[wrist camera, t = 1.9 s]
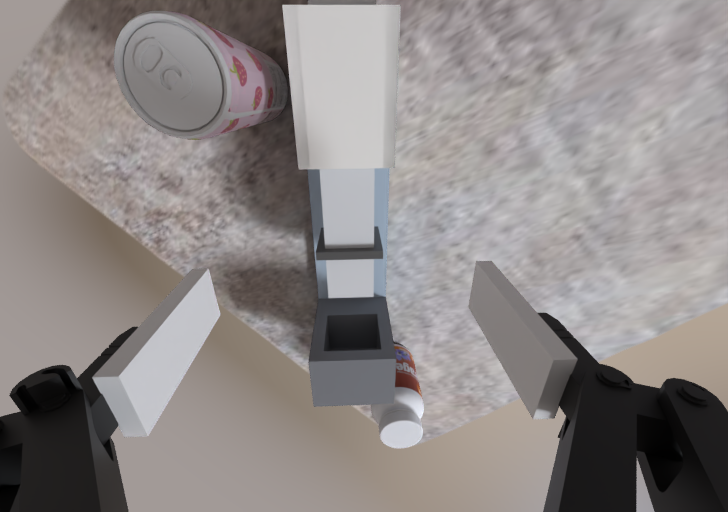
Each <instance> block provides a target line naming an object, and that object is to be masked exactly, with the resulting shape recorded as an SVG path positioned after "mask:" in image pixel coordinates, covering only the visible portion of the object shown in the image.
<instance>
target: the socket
mask: <svg viewBox="0 0 728 512" xmlns="http://www.w3.org/2000/svg"><path fill="white" fill-rule="evenodd" d="M309 370H310V378H311V387H312V396H313V404H314V407H316V406H341V405H342V406H343V405H370V404H394V395H395V376H396V354H395V348H394V342H393V336H392V331H391V325H390V319H389V313H388V308H387V302H386V297H366V298H329V299H318V306H317V312H316V318H315V324H314V331H313V337H312V343H311V349H310V356H309Z"/></svg>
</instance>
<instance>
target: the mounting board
mask: <svg viewBox="0 0 728 512" xmlns="http://www.w3.org/2000/svg"><path fill="white" fill-rule="evenodd" d="M307 171H308V182H309V194H310V205H311V217H312V228H313V240H314V251H315V263H316V275H317V286H318V298H319V299H329V298H328V283H327V269H326V260H316V249H317V244H318V240H319V236H320V231H321V228H324V226H323V211H322V197H321V182H320V169H307ZM388 197H389V168H375V180H374V227H377V226H378V229H379V233H380V238H381V243H382V248H383V259H374V297H386V267H387V232H388ZM351 298H366V297H351Z"/></svg>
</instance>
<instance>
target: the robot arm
mask: <svg viewBox="0 0 728 512" xmlns="http://www.w3.org/2000/svg"><path fill="white" fill-rule="evenodd" d="M469 309H470V310H471V312H472V314H473V316H474V317H475V319H476V321H477V323H478V324H479V326H480V328H481V330H482V331H483V333H484V335H485V337H486V338H487V340H488V342H489V344H490V345H491V347H492V349H493V350H494V352H495V354H496V356H497V357H498V359H499V361H500V363H501V364H502V366H503V368H504V370H505V371H506V373H507V375H508V377H509V378H510V380H511V382H512V384H513V385H514V387H515V389H516V391H517V392H518V394H519V396H520V397H521V399H522V401H523V403H524V404H525V406H526V408H527V410H528V411H529V413H530V415H531V417H532V418H533V419H548V418H555V416H556V413H557V411H558V408H559V406H560V408H561V409H562V410H563V412H564V414H565V415H566V418H565V421H564V424H563V426H562V428H561V431H560V433H559V435H558V438H560V441H559V445H558V450H557V454H556V459H555V463H554V467H553V472H552V476H551V481H550V485H549V489H548V494H547V498H546V502H545V507H544V511H543V512H636V461H637V459H636V458H638V461H639V464H640V468H641V471H642V474H643V477H644V480H645V483H646V486H647V489H648V493H649V495H650V499H651V502H652V505H653V508H654V511H655V512H728V411H727V410H726V408H725V407H724V405H723V404H722V402H721V401H720V400H719V399H718V398H717V397H716V396H715V395H713V394H712V393H711V392H709V391H708V390H707V389H705V388H703V387H701V386H699V385H697V384H695V383H692V382H689V381H686V380H683V379H676V378H671V379H667V380H666V381H665V382H664V383H663V385H662V387H661V388H655V387H650V386H645V385H640V384H635V383H633V381H632V380H631V379H630V378H629V377H628V376H627V375H625V374H624V373H622V372H621V371H619V370H617V369H615V368H613V367H610V366H607V365H603V364H599V363H598V362H597V361H596V360H595V359H594V358H593V357H592V356H591V355H590V353H589V352H588V351H587V350H586V349H585V348H584V347H583V346H582V345H581V344H580V343H579V342H578V341H577V340H576V339H575V338H574V337H573V335H572V334H571V333H570V332H569V331H567V329H566V328H565V327H564V326H563V325H562V324H561V323H560V322H559V321H558V320H557V319H555V318H554V317H552V316H550V315H549V314H547V313H537V312H536V311H535V310H534V309H533V308H532V307H531V305H530V304H529V303H528V302H527V301H526V300H525V299H524V297H523V296H522V295H521V294H520V293H519V292H518V291H517V290H516V288H515V287H514V286H513V285H512V284H511V283H510V282H509V280H508V279H507V278H506V277H505V276H504V275H503V274H502V272H501V271H500V270H499V269H498V268H497V267H496V266H495V265H494V263H493V262H492V261H476V266H475V271H474V277H473V283H472V289H471V295H470V301H469ZM219 316H220V311H219V307H218V303H217V299H216V295H215V292H214V288H213V284H212V280H211V276H210V272H209V269H192V270H191V271H190V272H189V273H188V274H187V275H186V276H185V277H184V279H183V280H182V281H181V282H180V283H179V284H178V285H177V286H176V287H175V288H174V289H173V290H172V292H171V293H170V294H169V295H168V296H167V297H166V298H165V299H164V300H163V301H162V302H161V304H160V305H159V306H158V307H157V308H156V309H155V310H154V311H153V312H152V313H151V314H150V315H149V316H148V317H147V319H146V320H145V321H144V322H143V323H142V324H141V325H140V326H139V327H132V328H130V329H129V330H127V331H125V332H124V333H122V334H121V335H119V336H118V337H117V338H116V339H115V340H114V341H113V343H111V345H109V348H107V349H105V350H104V351H103V352H102V354H101V356H99V357H98V358H97V359H96V360H95V361H94V362H93V363H92V364H91V365H90V366H89V367H88V368H87V369H86V370H85V371H84V372H83V373H82V374H81V375H80V376H79V377H78V378H76V376H75V375H74V373H73V371H72V370H71V368H70V367H69V366H66V365H57V366H51V367H48V368H45V369H42V370H40V371H37V372H35V373H33V374H31V375H29V376H28V377H26V378H25V379H23V380H22V381H20V382H19V383H18V384H17V385H16V386H15V387H14V388H13V389H12V391H11V393H10V397H11V398H12V400H13V401H14V402H15V404H16V405H17V407H18V408H19V409H20V410H21V412H17V413H13V414H9V415H5V416H2V417H0V512H128V507H127V502H126V498H125V494H124V488H123V484H122V479H121V474H120V470H119V466H118V460H117V456H116V451H115V446H114V443H113V441H112V439H111V437H110V436H111V435H112V434H113V432H114V431H115V429H116V428H117V427H118V426H119V428H120V430H121V432H122V433H123V435H124V437H142V436H148V435H149V433H150V432H151V430H152V429H153V427H154V425H155V424H156V422H157V420H158V419H159V417H160V415H161V413H162V412H163V410H164V408H165V407H166V405H167V403H168V402H169V400H170V398H171V397H172V395H173V393H174V392H175V390H176V388H177V387H178V385H179V383H180V382H181V380H182V378H183V377H184V375H185V373H186V372H187V370H188V368H189V366H190V365H191V363H192V362H193V360H194V358H195V357H196V355H197V353H198V352H199V350H200V348H201V347H202V345H203V343H204V342H205V340H206V338H207V337H208V335H209V333H210V331H211V330H212V328H213V326H214V325H215V323H216V321H217V320H218V318H219Z"/></svg>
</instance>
